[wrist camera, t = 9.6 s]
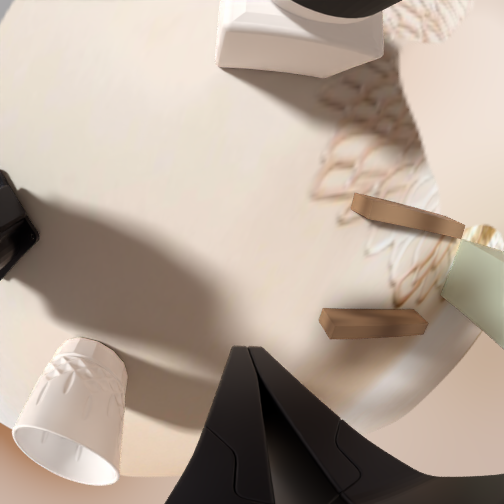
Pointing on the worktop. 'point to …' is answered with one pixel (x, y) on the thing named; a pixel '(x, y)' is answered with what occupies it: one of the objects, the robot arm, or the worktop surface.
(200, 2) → the worktop surface
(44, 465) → the white cup
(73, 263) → the worktop surface
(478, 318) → the key block
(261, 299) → the worktop surface
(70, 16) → the worktop surface
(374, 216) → the walnut slot
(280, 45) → the medicine bottle
